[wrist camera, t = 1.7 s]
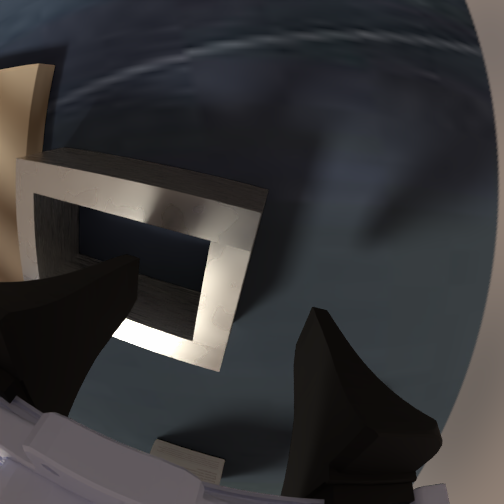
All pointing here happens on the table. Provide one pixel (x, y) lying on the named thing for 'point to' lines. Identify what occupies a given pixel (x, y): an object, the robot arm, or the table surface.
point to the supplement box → (190, 461)
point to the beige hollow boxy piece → (151, 212)
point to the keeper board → (18, 148)
